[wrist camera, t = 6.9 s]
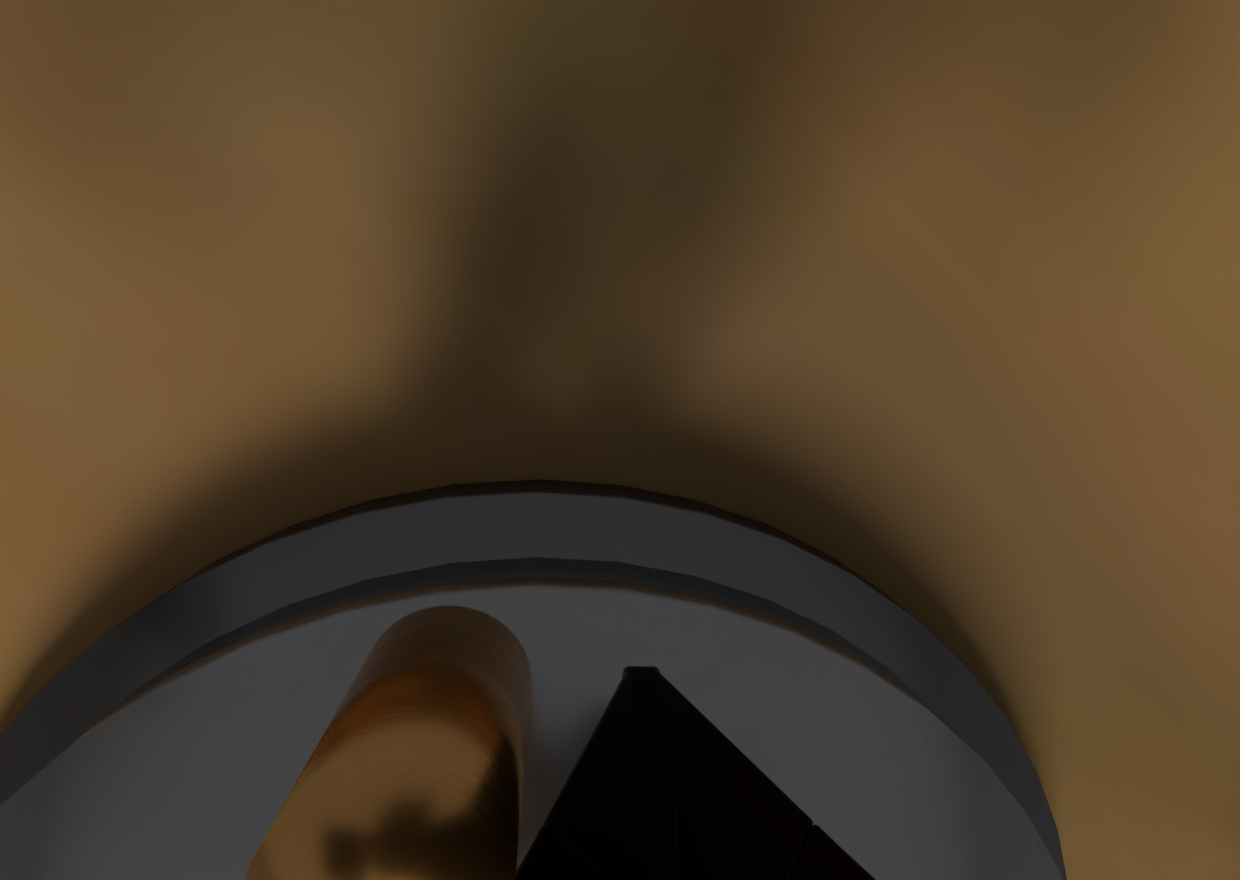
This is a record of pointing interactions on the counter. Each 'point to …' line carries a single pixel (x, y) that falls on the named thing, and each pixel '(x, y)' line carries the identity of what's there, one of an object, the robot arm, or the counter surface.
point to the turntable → (493, 735)
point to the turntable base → (512, 529)
